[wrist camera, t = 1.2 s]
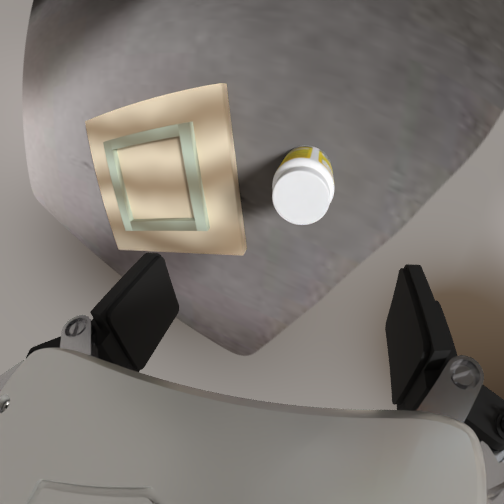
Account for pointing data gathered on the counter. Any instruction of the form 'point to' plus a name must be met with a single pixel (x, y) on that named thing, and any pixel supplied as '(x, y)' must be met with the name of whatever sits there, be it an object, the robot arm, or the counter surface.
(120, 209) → the board
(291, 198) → the supplement bottle
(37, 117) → the counter surface
